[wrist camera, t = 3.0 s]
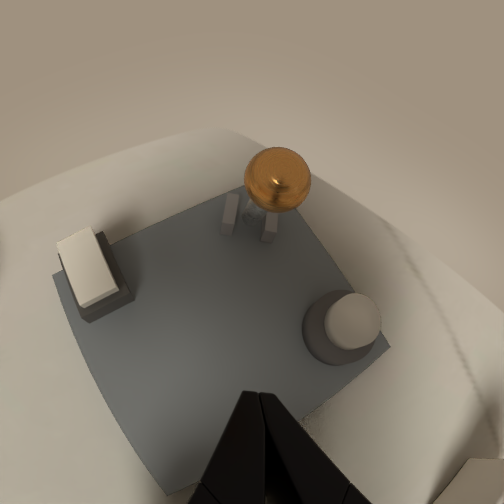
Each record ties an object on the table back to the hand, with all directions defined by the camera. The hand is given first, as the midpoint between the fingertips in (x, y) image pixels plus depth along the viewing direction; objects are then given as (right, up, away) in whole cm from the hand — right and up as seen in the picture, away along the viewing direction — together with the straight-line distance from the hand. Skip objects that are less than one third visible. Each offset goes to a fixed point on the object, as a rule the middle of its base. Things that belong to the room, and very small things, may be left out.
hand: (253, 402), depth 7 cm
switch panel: (-2, -1, +13) cm, 13 cm away
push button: (+6, -1, +11) cm, 13 cm away
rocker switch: (-10, +3, +9) cm, 14 cm away
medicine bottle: (+19, -19, +9) cm, 28 cm away
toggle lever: (0, +6, +14) cm, 15 cm away
